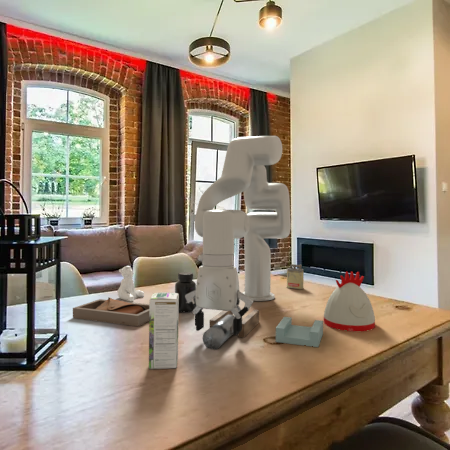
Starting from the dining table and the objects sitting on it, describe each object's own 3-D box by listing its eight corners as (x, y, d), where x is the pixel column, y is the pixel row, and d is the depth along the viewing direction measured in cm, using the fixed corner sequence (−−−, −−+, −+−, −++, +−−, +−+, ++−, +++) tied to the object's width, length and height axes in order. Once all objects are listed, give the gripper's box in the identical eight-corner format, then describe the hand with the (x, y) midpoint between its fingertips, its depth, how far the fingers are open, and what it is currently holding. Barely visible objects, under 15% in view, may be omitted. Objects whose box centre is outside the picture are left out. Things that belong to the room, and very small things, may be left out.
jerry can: (285, 288, 154) (285, 264, 153) (288, 286, 157) (288, 263, 156) (302, 289, 150) (302, 265, 150) (304, 288, 153) (305, 264, 153)
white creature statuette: (131, 302, 130) (131, 268, 129) (110, 300, 132) (110, 267, 132) (145, 296, 139) (145, 264, 138) (125, 294, 141) (125, 263, 141)
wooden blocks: (228, 318, 110) (228, 307, 110) (259, 322, 106) (259, 310, 106) (209, 333, 97) (209, 320, 96) (244, 337, 93) (244, 324, 93)
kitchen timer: (385, 330, 99) (386, 275, 99) (337, 333, 97) (338, 276, 96) (358, 315, 113) (359, 267, 112) (316, 318, 111) (316, 268, 110)
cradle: (284, 329, 100) (284, 316, 99) (322, 334, 96) (323, 320, 96) (275, 341, 90) (275, 327, 90) (318, 347, 87) (318, 332, 87)
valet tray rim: (99, 308, 122) (99, 299, 121) (160, 315, 113) (160, 305, 113) (72, 317, 110) (72, 308, 110) (137, 326, 102) (137, 315, 102)
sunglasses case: (86, 312, 114) (96, 292, 116) (103, 319, 119) (112, 299, 121) (124, 323, 103) (134, 300, 106) (141, 330, 108) (150, 308, 111)
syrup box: (151, 358, 80) (151, 292, 80) (179, 357, 81) (178, 291, 80) (148, 369, 74) (148, 298, 74) (178, 368, 75) (177, 298, 74)
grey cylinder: (222, 331, 99) (222, 313, 99) (239, 333, 97) (239, 315, 97) (202, 348, 87) (202, 328, 86) (221, 351, 85) (221, 330, 85)
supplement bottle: (192, 313, 115) (192, 275, 115) (171, 312, 117) (171, 274, 116) (198, 307, 122) (198, 271, 121) (178, 306, 123) (178, 271, 123)
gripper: (179, 261, 88) (178, 331, 89) (247, 264, 82) (247, 340, 83) (192, 257, 96) (192, 323, 96) (257, 261, 89) (256, 331, 90)
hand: (218, 331), depth 89 cm, fingers open, 9 cm apart
